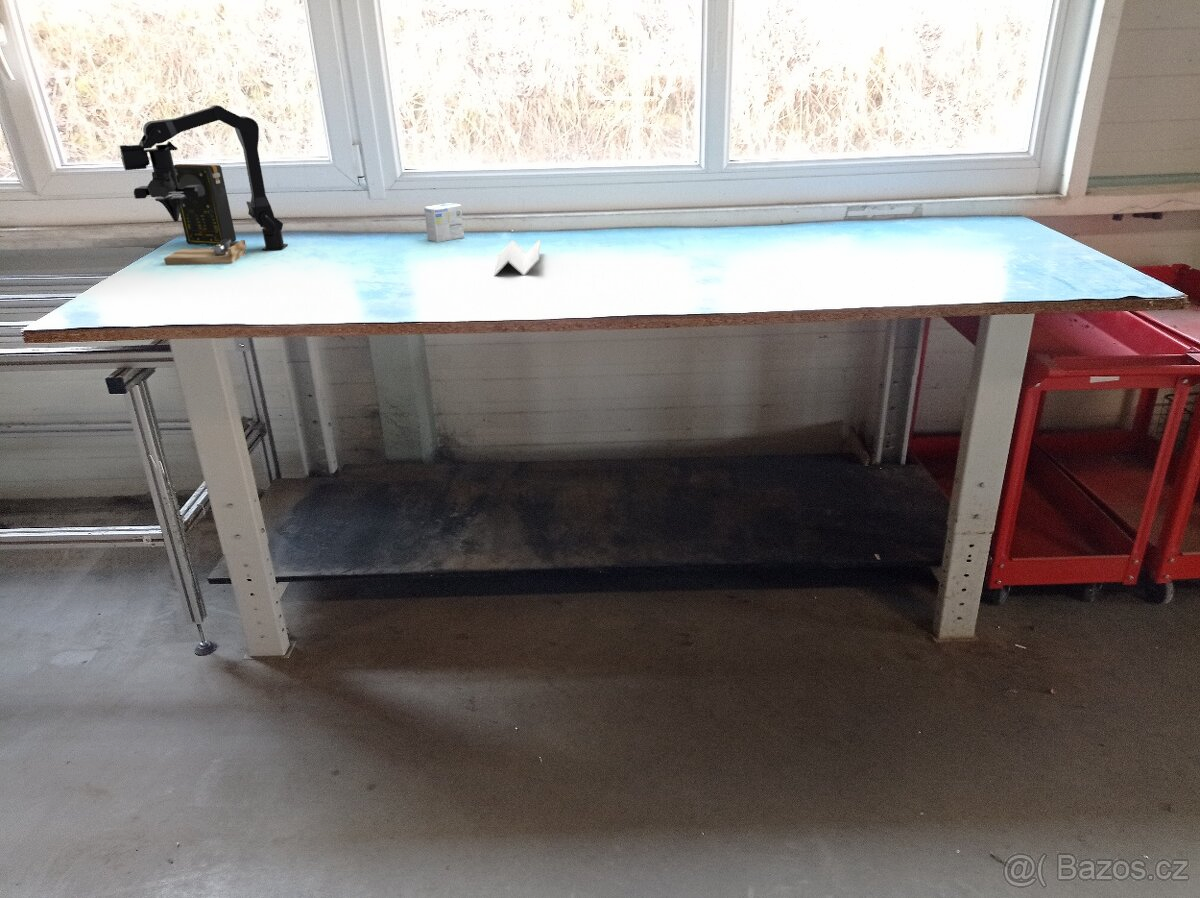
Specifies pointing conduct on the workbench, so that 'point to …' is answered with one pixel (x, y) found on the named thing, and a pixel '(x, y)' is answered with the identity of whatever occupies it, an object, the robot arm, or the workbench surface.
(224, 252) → the bar
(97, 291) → the workbench surface
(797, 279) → the workbench surface
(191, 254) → the door board
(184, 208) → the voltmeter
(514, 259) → the z bracket
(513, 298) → the workbench surface
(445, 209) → the light bulb box
